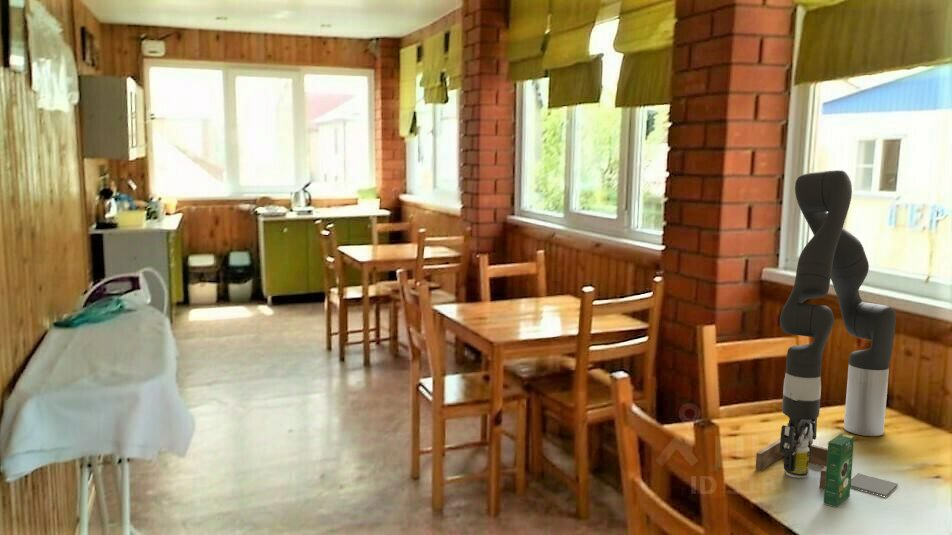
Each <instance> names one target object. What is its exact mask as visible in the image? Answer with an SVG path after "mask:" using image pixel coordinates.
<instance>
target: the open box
mask: <svg viewBox="0 0 952 535" xmlns="http://www.w3.org/2000/svg"><path fill="white" fill-rule="evenodd" d="M780 440H781V437H780V438H779V439H777V440H776V441H774V442H772V443H771V444H769V445H767V446H766V447H763V448H761V449H760V450H759V451H757V452H756V456H755V457H756V458H755V471H759V472H761V471H762V470H764V469H766V468H767V467H768V466H770V465H772V464H773V463H775V462H776V461H778V460H779V458H780V459H781V458H783V457H784V453H781V452H780ZM784 445H785V443H784ZM827 453H828V447H827V448H825V447H823V446H819V445H814V444H812V445H811V454H810V460H809V463H810V464H813V465H816V464H817V466H821V467H823V468H822V469H820V480H819V489H821V490H824V491H825V479H826V466H827ZM782 456H783V457H782Z"/></svg>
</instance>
